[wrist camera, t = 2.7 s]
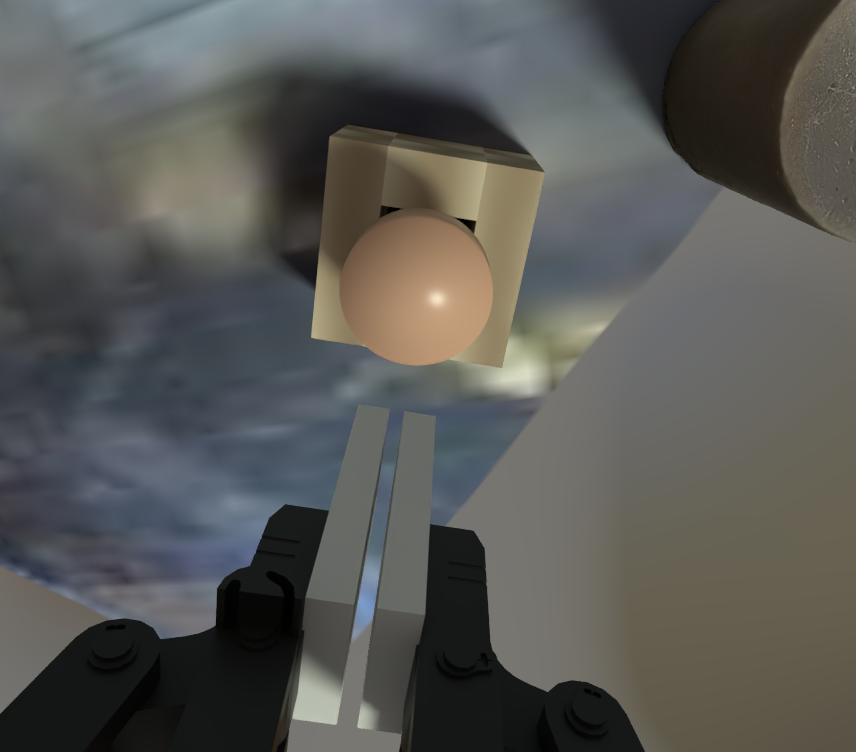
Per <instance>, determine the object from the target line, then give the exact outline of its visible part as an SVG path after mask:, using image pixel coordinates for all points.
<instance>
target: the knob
mask: <svg viewBox="0 0 856 752" xmlns="http://www.w3.org/2000/svg"><path fill="white" fill-rule="evenodd" d="M339 295H340V303H341V307H342V311H343V314H344V317H345V319H346V321H347V323H348V325H349V327H350V329H351V330H352V332H353V333H354V334H355V336H356V337H357V338H358V339H359V340H360V341H361V342H362V343H363V344H364V345H365V346H366V347H367V348H368V349H370V350H371V351H373V352H374V353H376V354H377V355H379V356H381V357H383V358H385V359H388V360H390V361H393V362H397V363H401V364H406V365H428V364H434V363H438V362H442V361H445V360H447V359H450V358H452V357H454V356H455V355H457V354H459V353H461V352H462V351H463V350H465V349H466V348H467V347H468V346H469V345H471V344H472V343H473V342H474V341H475V339H476V338H477V337H478V336H479V334H480V333H481V331H482V330H483V328H484V326H485V325H486V322H487V320H488V318H489V315H490V311H491V308H492V301H493V285H492V278H491V272H490V266H489V262H488V259H487V255H486V253H485V251H484V249H483V247H482V245H481V243H480V242H479V240H478V238H477V237H476V236H475V235H474V234H473V232H472V231H471V230H470V229H469V228H468V227H467V226H465V225H464V224H463V223H462V222H460V221H459V220H457V219H456V218H454V217H452V216H450V215H448V214H445V213H443V212H440V211H437V210H432V209H426V208H408V209H402V210H398V211H395V212H391V213H389V214H387V215H385V216H383V217H381V218H379V219H378V220H376V221H375V222H373V223H372V224H371V225H370V226H369V227H367V228H366V229H365V231H364V232H363V233H362V234H361V235H360V236H359V238H358V239H357V241H356V242H355V244H354V246H353V248H352V250H351V252H350V253H349V255H348V257H347V259H346V262H345V264H344V267H343V270H342V273H341V278H340V286H339Z"/></svg>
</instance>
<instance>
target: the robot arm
mask: <svg viewBox="0 0 856 752" xmlns="http://www.w3.org/2000/svg"><path fill="white" fill-rule="evenodd" d="M389 410H390V409H386V408H379V407H373V406H367V405H360V404H359V405H358V408H357V412H356V416H355V419H354V423H353V426H352V430H351V434H350V437H349V441H348V445H347V448H346V452H345V455H344V459H343V463H342V466H341V470H340V474H339V477H338V481H337V485H336V488H335V492H334V495H333V499H332V503H331V506H330V510H329V511H327V510H320V509H313V508H307V507H300V506H293V505H287V504H285V505H284V506H283V507H282V508H281V509H279V510H278V511H277V512H276V513H275V514H274V515H272V516H271V517H270V518H269V520H268V523H267V525H266V528H265V530H264V532H263V535H262V539H261V540H260V542H259V545H258V547H257V550H256V554H255V555H254V557H253V560H252V562H251V565H250V566H248V567H245V568H241V569H238V570H236V571H234V572H233V573H231V574H230V575H228V576H227V577H225V578H224V580H223V581H222V582H221V584H220V585H219V586H218V588H217V608H216V626H214V627H213V628H211V629H209V630H206V631H204V632H201V633H199V634H194V635H189V636H184V637H176V638H167V639H160V638H159V636H158V635H157V633H156V632H155V630H154V629H153V628H152V627H150V626H149V625H147V624H145V623H143V622H142V621H138V620H131V619H125V618H124V619H116V620H108V621H104V622H102V623H100V624H97V625H94V626H92V627H89V628H88V629H87V630H85V631H84V632H83V633H81V634H80V635H78V636H77V637H76V638H75V639H74V640H73V641H72V642H71V643H70V644H69V645H68V646H67V647H66V648H65V649H64V650H63V651H62V652H61V653H60V654H59V655H58V656H57V657H56V658H55V659H54V660H53V661H52V662H51V663H50V664H49V665H48V666H47V667H46V668H45V669H44V670H43V671H42V672H41V673H40V674H39V675H38V676H37V677H36V678H35V679H34V680H33V681H32V682H31V683H30V684H29V685H28V686H27V688H25V689H24V690H23V691H22V692H21V693H20V694H19V696H18V697H16V698H15V700H13V702H12V703H11V704H10V705H9V706H8V707H7V708H6V709H5V710H4V711H3V712H2V713H1V714H0V752H287V745H288V735H289V727H290V723H291V719H292V715H293V719H299V720H305V721H312V722H320V723H327V724H335V725H336V724H337V719H338V713H339V707H340V701H341V696H342V690H343V685H344V679H345V673H346V667H347V662H348V656H349V651H350V645H351V639H352V634H353V628H354V622H355V617H356V611H357V605H358V600H359V594H360V588H361V583H362V577H363V571H364V566H365V560H366V554H367V549H368V543H369V537H370V532H371V526H372V520H373V515H374V509H375V503H376V497H377V490H378V484H379V477H380V470H381V464H382V457H383V450H384V444H385V437H386V430H387V424H388V417H389ZM434 435H435V416H431V415H425V414H418V413H412V412H405V411H404V418H403V424H402V430H401V436H400V443H399V449H398V455H397V461H396V467H395V474H394V480H393V486H392V492H391V499H390V505H389V512H388V519H387V526H386V533H385V539H384V546H383V553H382V560H381V567H380V574H379V581H378V588H377V595H376V602H375V609H374V616H373V622H372V630H371V637H370V644H369V650H368V657H367V664H366V671H365V678H364V685H363V693H362V700H361V706H360V713H359V719H358V726H357V727H358V728H363V729H370V730H377V731H385V732H392V733H399V734H401V731H402V737H401V745H400V750H399V752H645V751H644V749H643V747H642V745H641V743H640V741H639V739H638V737H637V735H636V733H635V731H634V729H633V726H632V725H631V723H630V720H629V718H628V716H627V714H626V713H625V711H624V710H623V709H622V707H621V706H620V704H619V703H618V702H617V700H616V699H614V698H613V697H612V696H611V695H609V694H608V693H607V692H606V691H604V690H603V689H601V688H599V687H597V686H594V685H592V684H590V683H587V682H581V681H573V680H572V681H567V682H563V683H559V684H557V685H556V686H555V687H553V688H552V689H551V690H550V691H549V692H546V691H544V690H542V689H539V688H537V687H534V686H532V685H530V684H528V683H526V682H524V681H521V680H520V679H518V678H516V677H515V676H513V675H512V674H511V673H510V672H508V671H507V670H506V669H505V668H504V667H503V666H502V665H501V664H500V662H499V661H498V660H497V657H496V654H495V653H494V652H493V650H492V647H491V643H490V629H489V614H488V597H487V586H486V582H487V581H486V570H485V568H486V564H485V550H484V549H485V548H484V547H483V545H482V544H481V542H480V540H479V539H478V537H477V535H476V534H475V532H474V531H471V530H465V529H458V528H452V527H445V526H438V525H432V524H430V512H431V493H432V473H433V454H434Z"/></svg>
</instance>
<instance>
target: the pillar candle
mask: <svg viewBox="0 0 856 752" xmlns="http://www.w3.org/2000/svg"><path fill="white" fill-rule="evenodd" d="M664 84H665V90H664V91H663V92H664V94H663V118H664V122H665V127H666V131H667V135H668V138H669V140H670V142H671V145H672V146H673V149H674V151H675V152H676V153H677V154H678V155H680V156H682V157H683V158H684V160H685V161H686V162H688V163H689V164H690V165H691V166H692V169H693V170H694V171H695V172H696V173H697V174H699V175H701V176H703V177H704V178H706V179H708V180H711V181H713V182H715V183H717V184H720V185H722V186H725V187H726V188H729V189H730V190H733V191H735V192H737V193H740V194H742V195H744V196H746V197H748V198H751V199H752V200H754V201H757V202H759V203H761V204H764V205H767V206H770V207H772V208H774V209H776V210H778V211H780V212H783V213H785V214H787V215H789V216H791V217H793V218H796V219H798V220H800V221H802V222H804V223H807V224H809V225H811V226H813V227H815V228H817V229H820V230H822V231H824V232H827V233H829V234H831V235H833V236H836V237H839V238H842V239H844V240H847V241H849V242H854V243H856V0H720V1H718V2H717V3H716V4H714V5H713V6H712V7H710V8H709V9H708V10H707V11H706V12H705V13H704V14H703V15H702V16H701V17H700V18H699V20H698V21H697V22H696V23H695V24H694V25H693V26H692V27H691V28H690V30H689V31H688V32H687V33H686V35H685V36H684V38H683V40H682V41H681V43H680V44H679V46H678V47H677V49H676V51H675V53H674V56H673V59H672V61H671V62H670V65H669V68H668V72H667V75H666V79H665V83H664Z"/></svg>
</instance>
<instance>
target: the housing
mask: <svg viewBox="0 0 856 752" xmlns="http://www.w3.org/2000/svg"><path fill="white" fill-rule="evenodd" d="M544 176H545V172H544V170H543V169H542V168H541V166H540V165H539V164H538V163H537V161H536V160H535V159H534V158H533V156H532V155H526V154H520V153H514V152H508V151H502V150H496V149H490V148H484V147H478V146H472V145H466V144H461V143H455V142H449V141H443V140H437V139H431V138H425V137H419V136H413V135H407V134H401V133H395V132H389V131H383V130H378V129H372V128H366V127H360V126H354V125H347V126H345V127H343V128H342V129H340V130H339V131H337V132H336V133H334V134H332V135H331V136H330V139H329V150H328V160H327V171H326V182H325V193H324V204H323V215H322V226H321V237H320V248H319V259H318V270H317V281H316V291H315V302H314V313H313V324H312V335H311V338H316V339H322V340H329V341H335V342H341V343H348V344H354V345H360V346H365V345H364V344H363V343H362V342H361V341H360V340H359V339H358V338H357V337H356V336H355V334H354V333H353V332H352V330H351V329H350V327H349V325H348V323H347V321H346V319H345V317H344V314H343V311H342V307H341V303H340V295H339V286H340V278H341V273H342V270H343V267H344V264H345V262H346V259H347V257H348V255H349V253H350V252H351V250H352V248H353V246H354V244H355V242H356V241H357V239H358V238H359V236H360V235H361V234H362V233H363V232H364V231H365V229H366V228H367V227H369V226H370V225H371V224H372V223H373V222H375V221H376V220H378V219H379V218H381V217H383V216H385V215H387V213H388V206H389V207H395V208H402V209H408V208H426V209H432V210H437V211H440V212H443V213H445V214H448V215H450V216H452V217H456V218H462V219H468V220H469V225H468V228H469V229H470V230H471V231H472V232H473V234H474V235H475V236H476V237H477V238H478V240H479V242H480V243H481V245H482V247H483V249H484V251H485V253H486V255H487V259H488V262H489V266H490V272H491V278H492V285H493V301H492V308H491V311H490V315H489V318H488V320H487V322H486V325H485V326H484V328H483V330H482V331H481V333H480V334H479V336H478V337H477V338H476V339H475V341H474V342H473V343H472V344H471V345H469V346H468V347H467V348H466V349H465V350H463V351H462V352H461V353H459V354H457V355H455V356H454V357H452V358H450V359H449V360H455V361H462V362H468V363H474V364H481V365H487V366H493V367H500V368H502V365H503V361H504V356H505V352H506V347H507V343H508V338H509V334H510V329H511V324H512V320H513V315H514V311H515V306H516V302H517V297H518V293H519V288H520V284H521V279H522V275H523V270H524V266H525V261H526V257H527V252H528V248H529V243H530V239H531V234H532V230H533V225H534V221H535V216H536V212H537V207H538V203H539V198H540V194H541V189H542V185H543V180H544Z"/></svg>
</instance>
